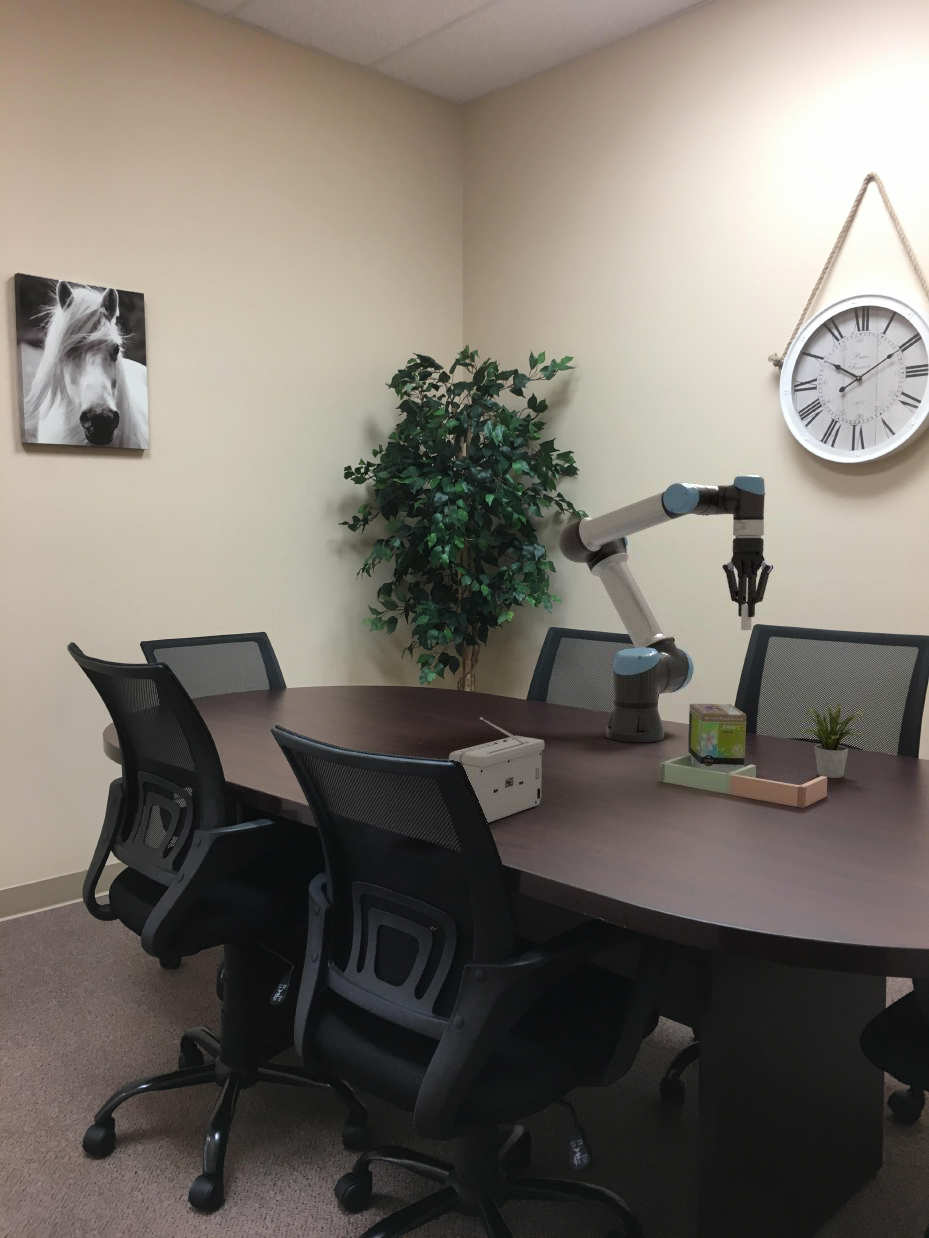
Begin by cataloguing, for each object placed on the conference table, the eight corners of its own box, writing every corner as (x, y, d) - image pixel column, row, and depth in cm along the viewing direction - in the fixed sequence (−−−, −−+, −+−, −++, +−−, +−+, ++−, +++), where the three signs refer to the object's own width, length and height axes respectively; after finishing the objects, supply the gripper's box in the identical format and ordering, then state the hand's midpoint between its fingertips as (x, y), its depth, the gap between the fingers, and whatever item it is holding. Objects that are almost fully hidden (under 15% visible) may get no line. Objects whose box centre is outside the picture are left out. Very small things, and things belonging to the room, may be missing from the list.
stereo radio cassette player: (513, 798, 191) (513, 700, 189) (547, 805, 186) (548, 704, 184) (446, 821, 175) (445, 714, 173) (481, 830, 170) (481, 719, 168)
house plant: (874, 785, 201) (877, 709, 200) (806, 782, 204) (808, 707, 202) (860, 770, 215) (863, 699, 214) (796, 767, 218) (798, 697, 216)
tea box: (745, 781, 205) (747, 713, 204) (698, 780, 206) (700, 713, 205) (730, 765, 220) (731, 702, 219) (686, 765, 221) (687, 701, 220)
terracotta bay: (730, 794, 194) (730, 775, 194) (755, 783, 202) (756, 765, 202) (803, 807, 184) (803, 787, 183) (826, 796, 192) (827, 776, 192)
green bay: (659, 781, 205) (659, 762, 205) (686, 771, 214) (687, 754, 213) (730, 794, 194) (730, 775, 194) (755, 783, 202) (756, 765, 202)
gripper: (717, 537, 243) (715, 629, 244) (766, 536, 234) (763, 632, 235) (731, 537, 248) (729, 627, 250) (779, 537, 239) (776, 630, 241)
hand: (746, 629), depth 243 cm, fingers closed
